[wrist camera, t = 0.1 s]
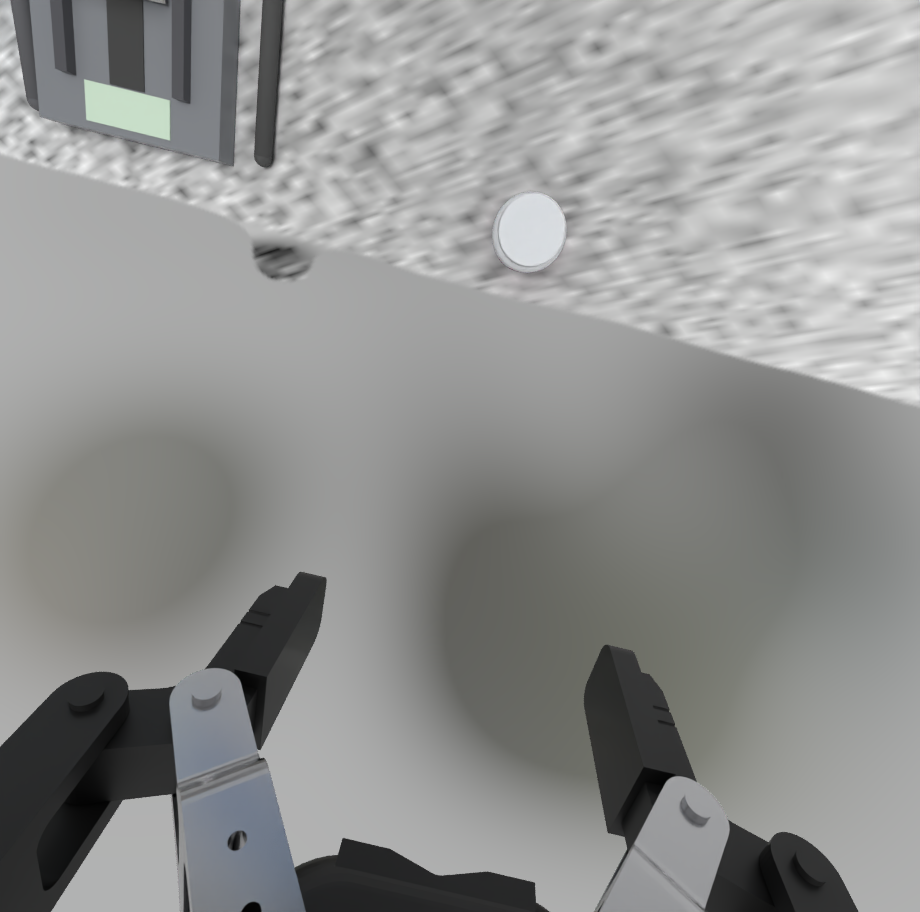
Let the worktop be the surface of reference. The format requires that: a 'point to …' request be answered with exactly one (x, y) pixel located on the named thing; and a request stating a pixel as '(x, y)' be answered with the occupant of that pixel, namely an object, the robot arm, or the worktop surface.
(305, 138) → the worktop surface
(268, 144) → the dark grey rod
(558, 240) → the pill bottle
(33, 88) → the cord
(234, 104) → the panel
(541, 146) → the worktop surface
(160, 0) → the grey orange rectangular block
